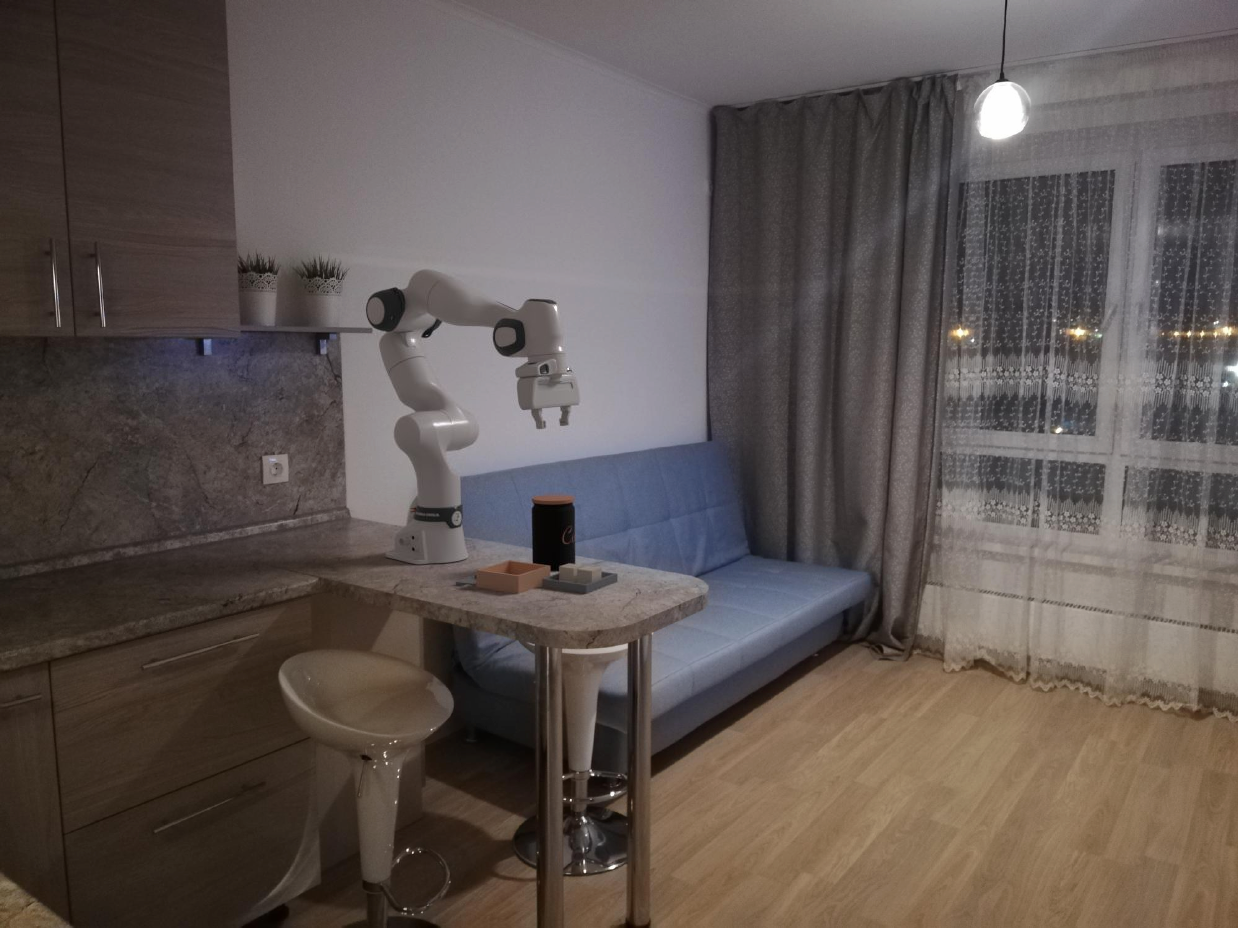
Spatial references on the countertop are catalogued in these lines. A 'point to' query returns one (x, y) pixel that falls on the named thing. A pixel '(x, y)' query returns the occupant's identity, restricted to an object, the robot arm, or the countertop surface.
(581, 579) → the stone
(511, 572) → the terracotta bin
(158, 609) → the countertop surface
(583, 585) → the tray
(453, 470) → the robot arm
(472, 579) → the tray lid
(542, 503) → the coffee jar
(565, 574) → the cream cube
